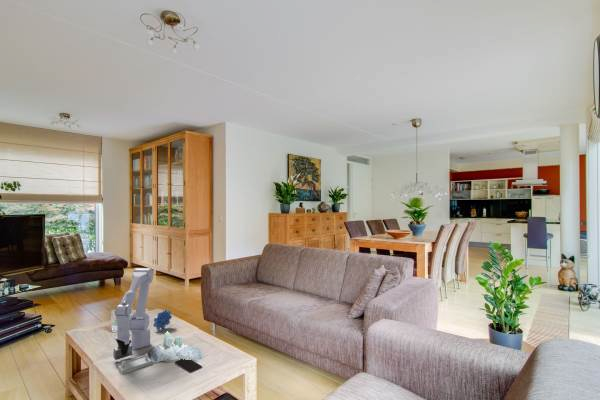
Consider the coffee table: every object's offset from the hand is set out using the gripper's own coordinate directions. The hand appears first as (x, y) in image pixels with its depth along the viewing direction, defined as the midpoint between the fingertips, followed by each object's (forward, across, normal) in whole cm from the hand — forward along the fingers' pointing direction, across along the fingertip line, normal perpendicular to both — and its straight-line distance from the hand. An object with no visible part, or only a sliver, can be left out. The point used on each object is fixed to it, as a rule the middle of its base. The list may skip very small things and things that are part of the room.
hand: (123, 353), depth 165 cm
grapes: (+4, -28, +30) cm, 41 cm away
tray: (+3, +10, +3) cm, 11 cm away
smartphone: (+4, +28, +23) cm, 36 cm away
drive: (+2, 0, 0) cm, 2 cm away
